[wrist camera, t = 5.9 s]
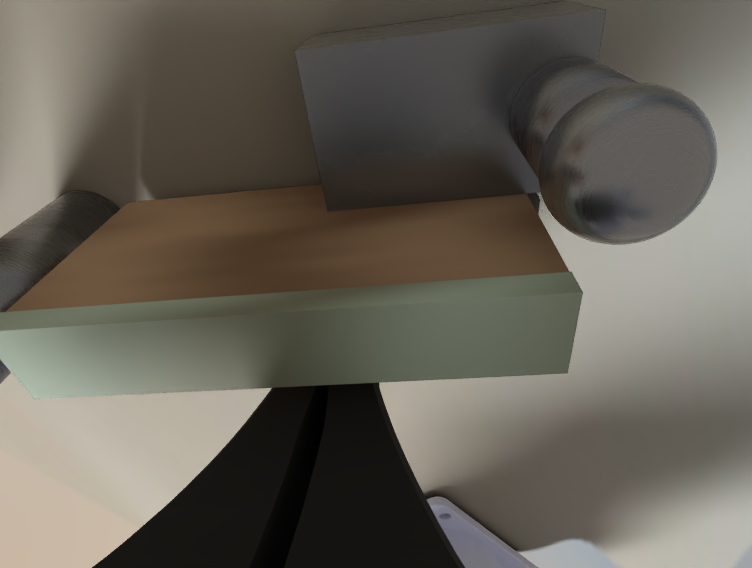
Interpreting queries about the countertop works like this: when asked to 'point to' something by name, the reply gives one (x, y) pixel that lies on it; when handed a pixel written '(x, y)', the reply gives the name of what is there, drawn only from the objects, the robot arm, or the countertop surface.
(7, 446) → the countertop surface
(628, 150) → the latch
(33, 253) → the hinge pin
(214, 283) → the rail
